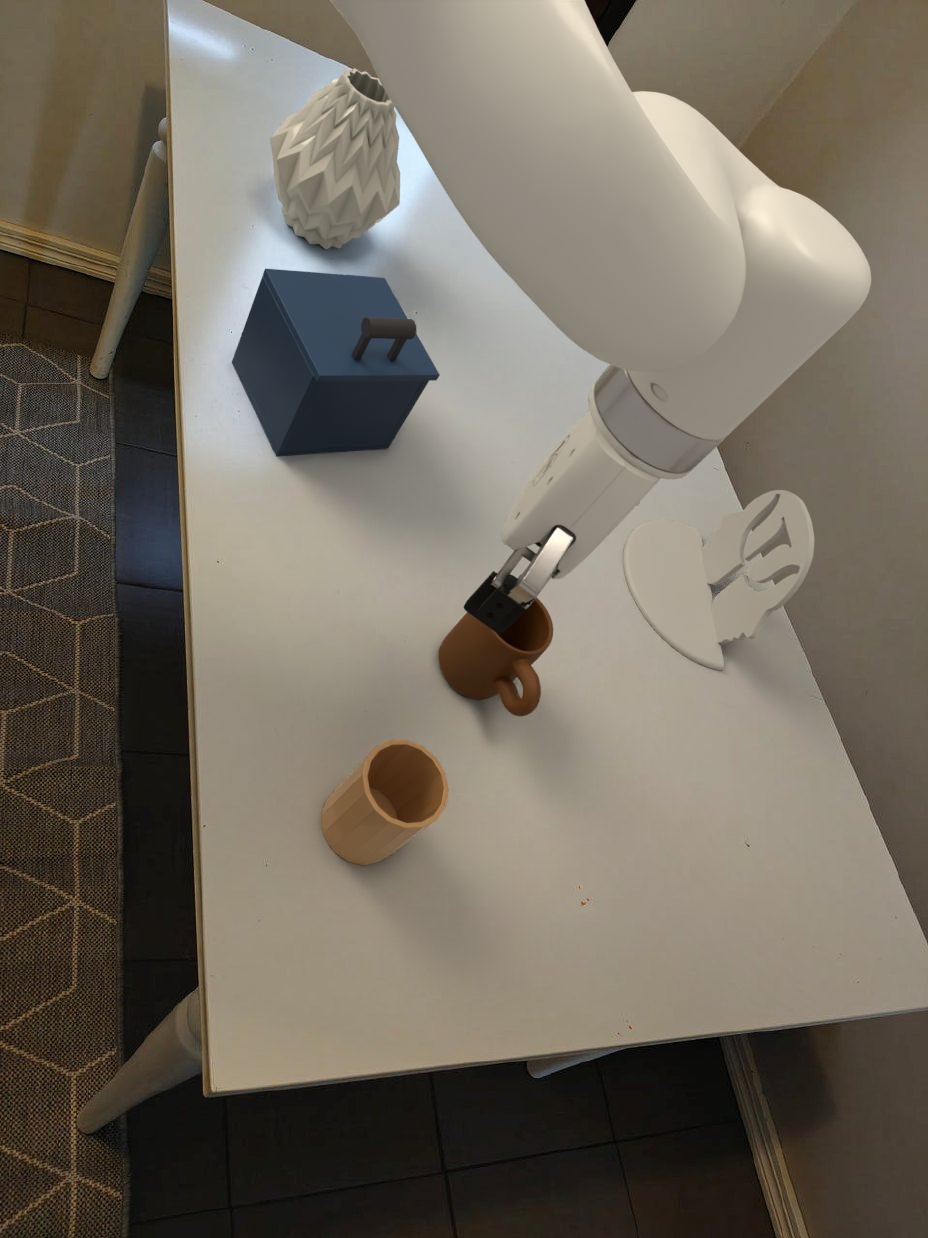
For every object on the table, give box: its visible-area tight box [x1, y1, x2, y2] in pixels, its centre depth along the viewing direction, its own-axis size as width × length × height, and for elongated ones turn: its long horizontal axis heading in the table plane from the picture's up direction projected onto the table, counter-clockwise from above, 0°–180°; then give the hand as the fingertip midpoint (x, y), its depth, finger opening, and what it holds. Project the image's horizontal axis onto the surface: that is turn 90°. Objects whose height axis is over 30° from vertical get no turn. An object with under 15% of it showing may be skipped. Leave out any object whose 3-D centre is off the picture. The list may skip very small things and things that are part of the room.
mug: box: [438, 596, 554, 717], centre depth 79 cm, size 12×8×9 cm, turn 14°
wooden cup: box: [320, 739, 450, 866], centre depth 66 cm, size 7×7×9 cm
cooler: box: [231, 275, 430, 457], centre depth 87 cm, size 13×14×11 cm
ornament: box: [622, 489, 815, 671], centre depth 99 cm, size 22×13×17 cm, turn 178°
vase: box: [269, 67, 401, 250], centre depth 102 cm, size 16×16×18 cm
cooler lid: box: [262, 268, 441, 382], centre depth 81 cm, size 13×14×5 cm
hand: (506, 574), depth 61 cm, fingers open, 9 cm apart
